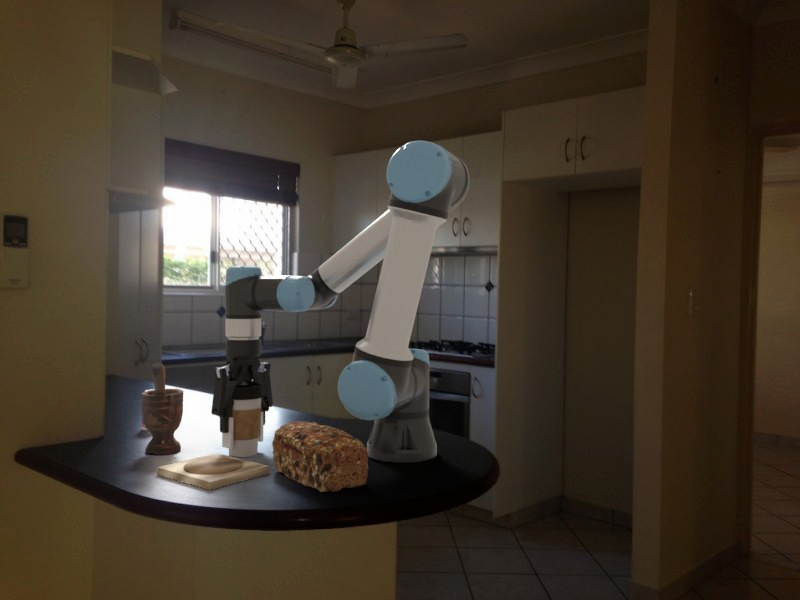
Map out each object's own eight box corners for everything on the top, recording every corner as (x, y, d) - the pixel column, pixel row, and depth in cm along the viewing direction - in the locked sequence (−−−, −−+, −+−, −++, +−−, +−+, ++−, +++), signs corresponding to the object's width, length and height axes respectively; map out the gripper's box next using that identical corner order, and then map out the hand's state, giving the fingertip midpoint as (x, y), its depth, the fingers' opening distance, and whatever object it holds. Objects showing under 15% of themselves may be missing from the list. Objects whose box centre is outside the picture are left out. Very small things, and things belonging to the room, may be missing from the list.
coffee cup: (253, 459, 144) (253, 388, 144) (216, 457, 146) (216, 386, 145) (269, 450, 152) (269, 382, 152) (233, 448, 154) (233, 381, 154)
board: (269, 473, 134) (269, 464, 134) (209, 490, 122) (209, 480, 122) (216, 460, 143) (216, 451, 143) (157, 474, 132) (157, 465, 132)
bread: (271, 472, 135) (271, 421, 135) (318, 464, 141) (318, 415, 141) (321, 496, 120) (321, 439, 120) (371, 485, 127) (371, 431, 126)
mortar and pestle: (191, 456, 147) (191, 362, 146) (148, 461, 142) (148, 364, 142) (178, 445, 157) (178, 357, 156) (138, 449, 152) (138, 359, 152)
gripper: (267, 334, 159) (267, 433, 159) (192, 340, 142) (192, 450, 143) (290, 336, 154) (289, 438, 155) (215, 342, 138) (215, 455, 138)
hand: (243, 443), depth 149 cm, fingers closed on coffee cup, 7 cm apart
